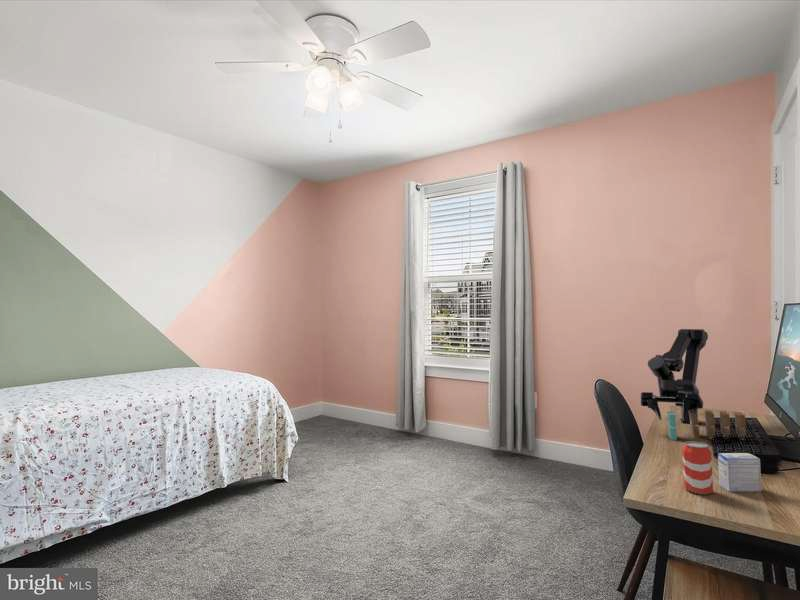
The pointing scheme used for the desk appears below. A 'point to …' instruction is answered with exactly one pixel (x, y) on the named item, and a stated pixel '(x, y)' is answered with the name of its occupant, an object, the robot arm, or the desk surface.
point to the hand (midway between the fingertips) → (672, 419)
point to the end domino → (672, 425)
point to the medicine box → (739, 472)
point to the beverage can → (697, 467)
